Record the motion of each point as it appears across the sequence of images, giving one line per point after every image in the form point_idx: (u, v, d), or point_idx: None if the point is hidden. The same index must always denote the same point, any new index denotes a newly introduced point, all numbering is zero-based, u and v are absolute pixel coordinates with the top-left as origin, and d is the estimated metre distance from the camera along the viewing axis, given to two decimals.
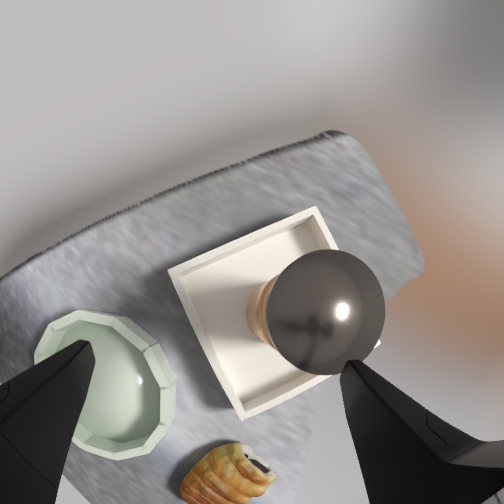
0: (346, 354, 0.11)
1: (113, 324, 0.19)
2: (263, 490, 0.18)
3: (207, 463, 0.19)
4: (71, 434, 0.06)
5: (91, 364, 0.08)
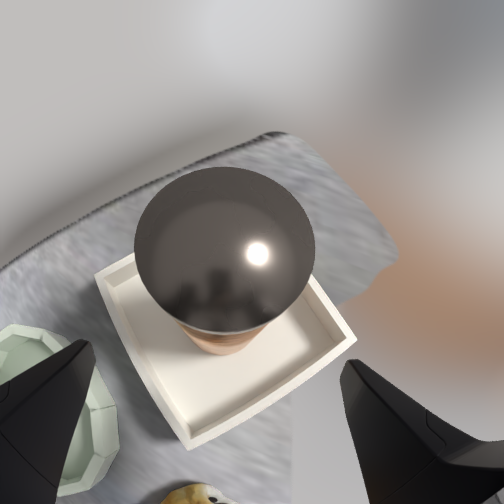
0: (257, 296, 0.07)
1: (42, 337, 0.15)
2: None
3: None
4: (71, 434, 0.06)
5: (91, 364, 0.08)
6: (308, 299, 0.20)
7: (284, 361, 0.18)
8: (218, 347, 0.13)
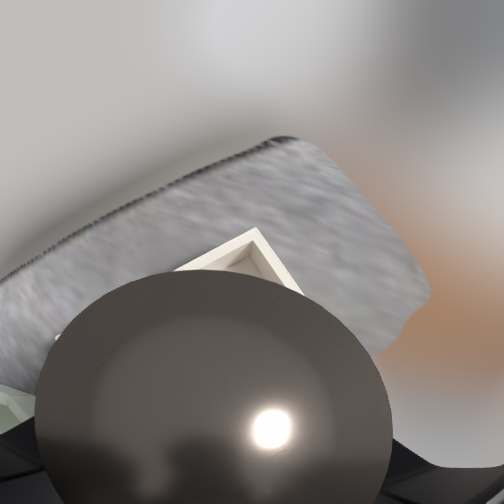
0: None
1: (8, 404, 0.09)
2: None
3: None
4: None
5: None
6: None
7: None
8: None
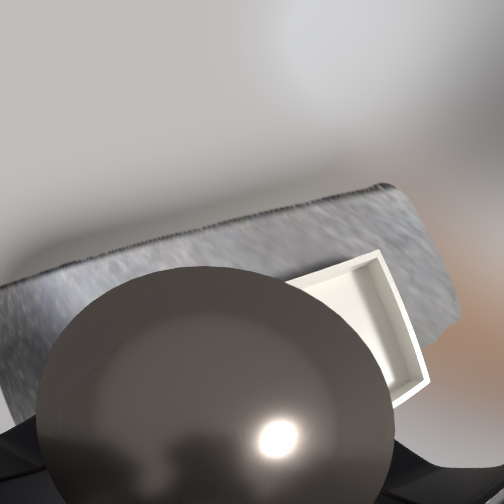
0: None
1: None
2: None
3: None
4: None
5: None
6: (401, 344, 0.21)
7: None
8: None
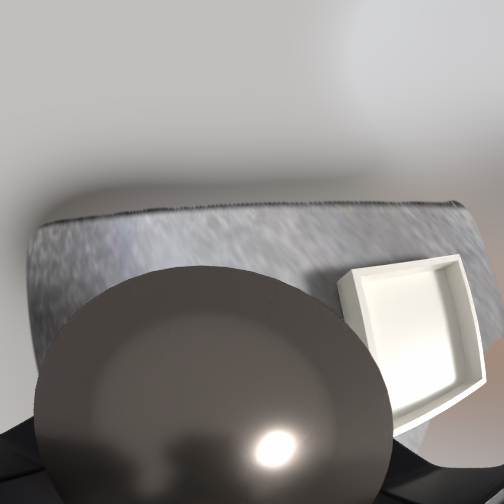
0: None
1: None
2: None
3: None
4: None
5: None
6: (465, 344, 0.20)
7: (441, 385, 0.18)
8: None
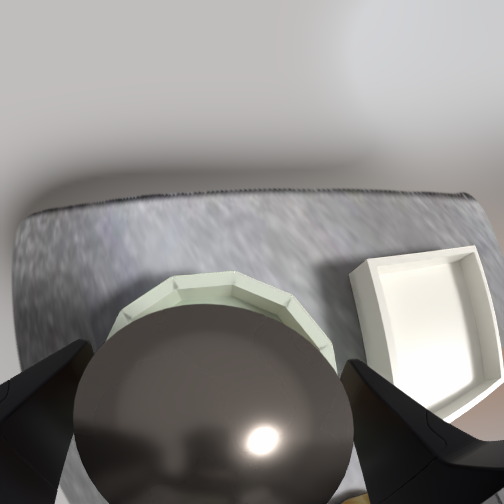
0: None
1: (287, 304, 0.15)
2: None
3: None
4: (71, 434, 0.06)
5: None
6: (483, 342, 0.17)
7: (460, 385, 0.16)
8: None
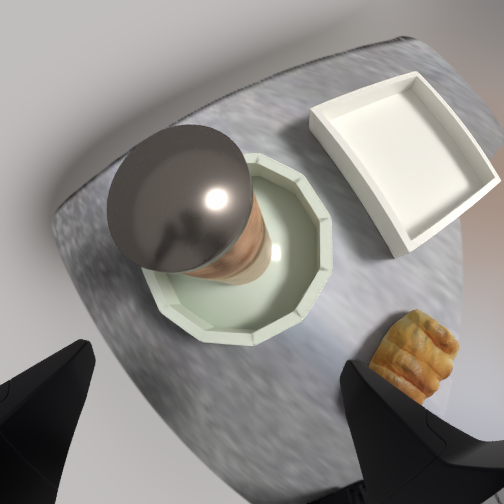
0: (210, 226, 0.09)
1: (258, 160, 0.19)
2: (452, 365, 0.15)
3: (392, 342, 0.17)
4: (71, 434, 0.06)
5: (91, 364, 0.08)
6: (464, 150, 0.19)
7: (456, 192, 0.19)
8: (230, 277, 0.15)
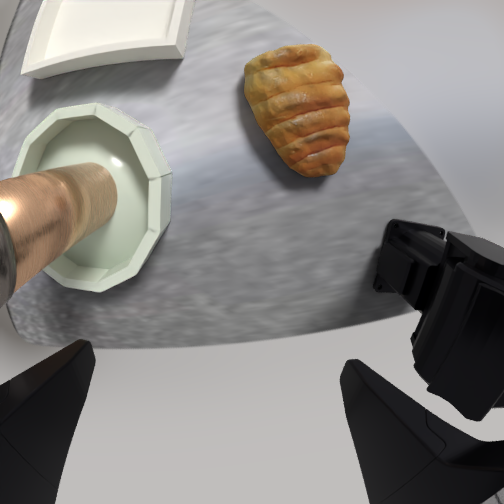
0: None
1: (29, 142, 0.14)
2: (333, 63, 0.14)
3: (256, 104, 0.16)
4: (71, 434, 0.06)
5: (91, 364, 0.08)
6: None
7: None
8: (75, 225, 0.13)
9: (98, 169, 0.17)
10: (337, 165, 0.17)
